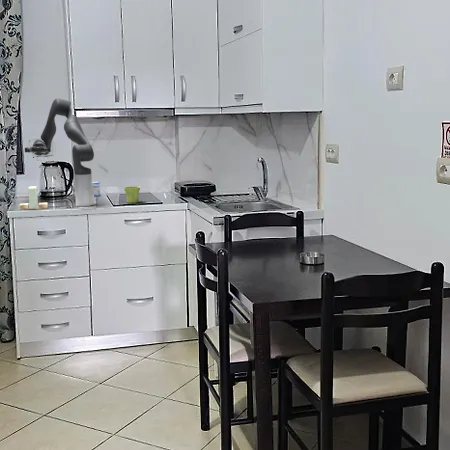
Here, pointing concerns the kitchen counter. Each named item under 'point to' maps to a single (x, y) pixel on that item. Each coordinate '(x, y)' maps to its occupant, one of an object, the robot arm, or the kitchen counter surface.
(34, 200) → the tall mint green pillar
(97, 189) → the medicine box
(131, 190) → the plant pot
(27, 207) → the slot board
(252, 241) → the kitchen counter surface
